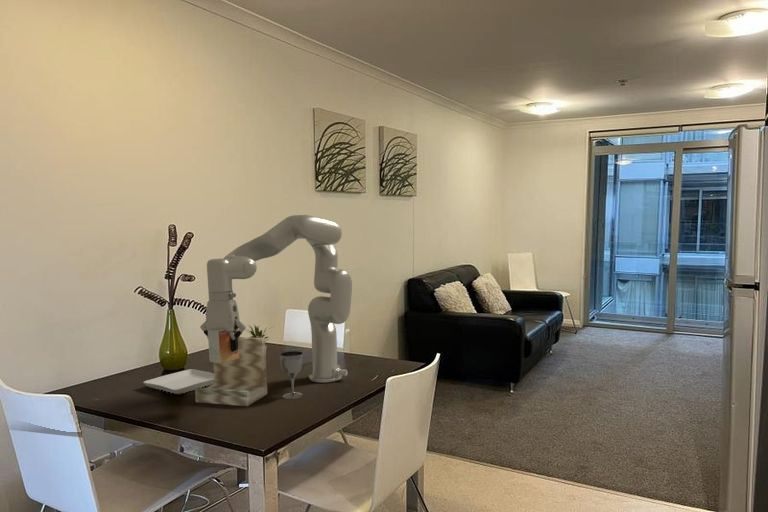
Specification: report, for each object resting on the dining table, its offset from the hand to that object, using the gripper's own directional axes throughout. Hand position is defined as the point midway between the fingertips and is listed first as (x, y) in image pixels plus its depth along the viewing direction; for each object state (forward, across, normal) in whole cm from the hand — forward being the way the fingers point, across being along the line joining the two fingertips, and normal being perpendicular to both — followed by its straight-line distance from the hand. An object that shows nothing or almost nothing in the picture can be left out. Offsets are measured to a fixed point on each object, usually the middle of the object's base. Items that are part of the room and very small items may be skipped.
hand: (224, 350), depth 180 cm
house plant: (+20, +22, -59) cm, 66 cm away
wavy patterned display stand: (+19, +4, -8) cm, 21 cm away
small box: (+4, 0, 0) cm, 4 cm away
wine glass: (+20, -17, -15) cm, 30 cm away
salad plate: (+20, +29, -18) cm, 40 cm away
